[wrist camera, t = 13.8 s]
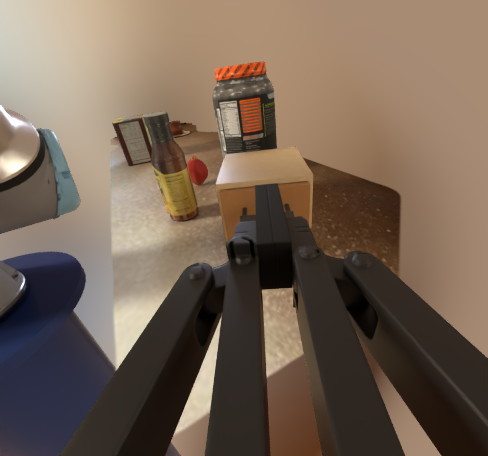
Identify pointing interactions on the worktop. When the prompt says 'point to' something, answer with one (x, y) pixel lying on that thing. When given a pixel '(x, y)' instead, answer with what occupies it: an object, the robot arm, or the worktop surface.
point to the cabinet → (263, 171)
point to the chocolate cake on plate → (177, 129)
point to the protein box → (134, 139)
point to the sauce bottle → (171, 169)
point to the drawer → (243, 206)
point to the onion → (197, 171)
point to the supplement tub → (244, 108)
